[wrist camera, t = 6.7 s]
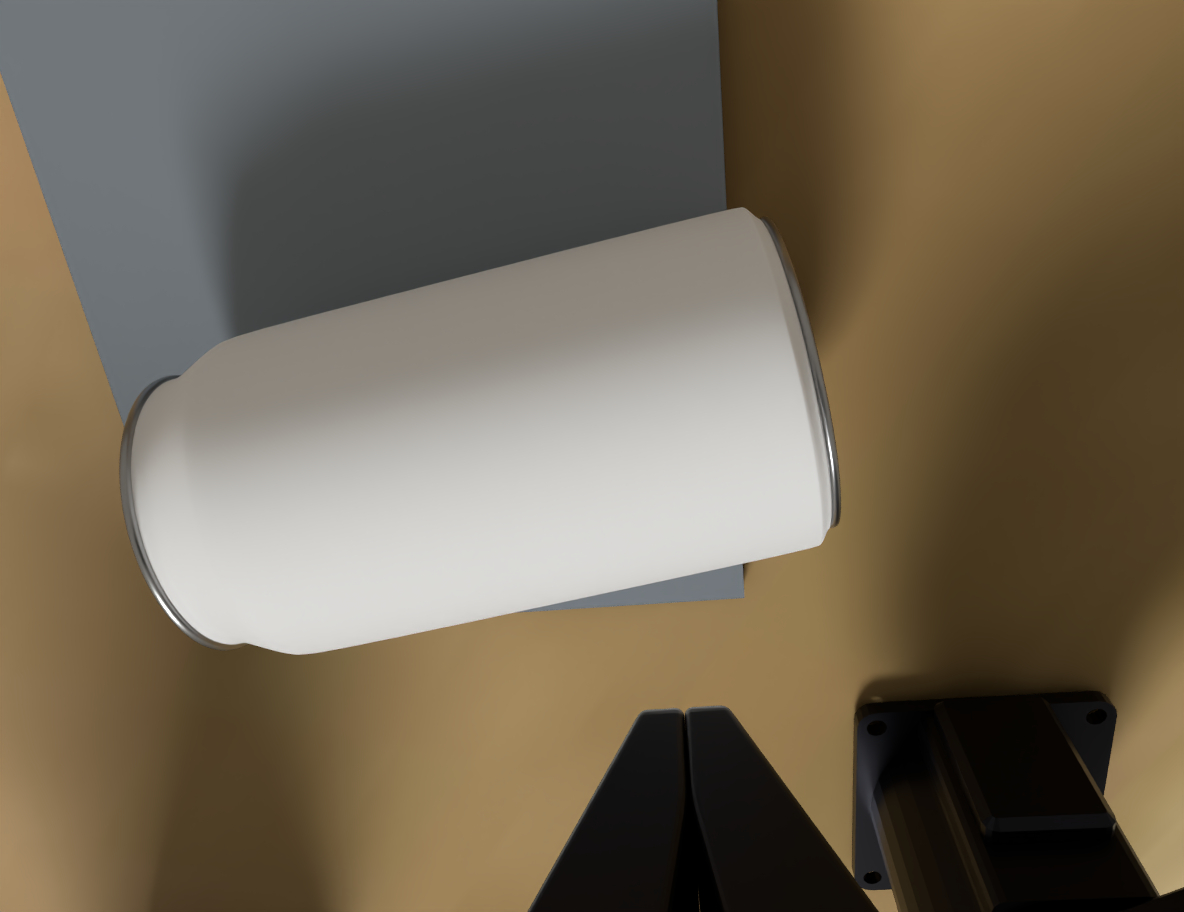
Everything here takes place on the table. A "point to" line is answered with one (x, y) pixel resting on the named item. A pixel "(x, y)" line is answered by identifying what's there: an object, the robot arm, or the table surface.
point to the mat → (351, 157)
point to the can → (488, 444)
